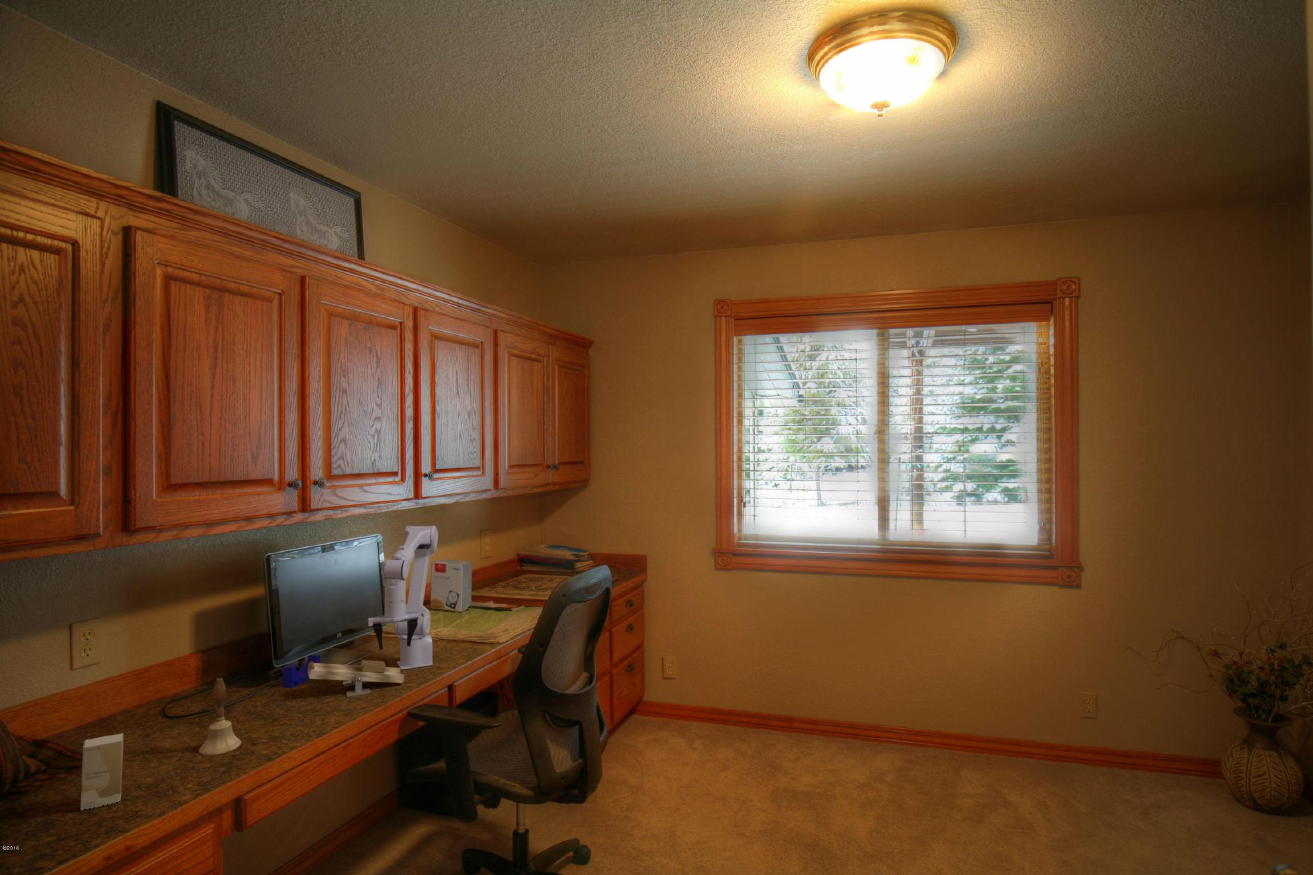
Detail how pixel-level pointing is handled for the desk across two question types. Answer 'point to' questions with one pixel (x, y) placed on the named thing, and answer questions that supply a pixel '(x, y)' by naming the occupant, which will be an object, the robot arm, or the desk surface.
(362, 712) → the desk surface
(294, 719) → the desk surface
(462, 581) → the hard drive box
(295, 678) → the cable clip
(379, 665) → the block
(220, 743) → the hand bell
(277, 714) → the desk surface
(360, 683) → the pivot stand
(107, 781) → the skincare box
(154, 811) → the desk surface
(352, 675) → the balance beam
